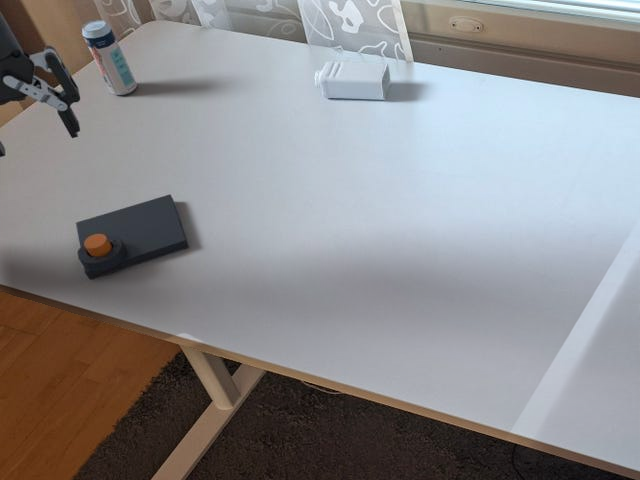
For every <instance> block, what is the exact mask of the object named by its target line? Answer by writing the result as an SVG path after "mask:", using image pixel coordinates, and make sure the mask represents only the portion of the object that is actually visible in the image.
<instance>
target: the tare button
mask: <svg viewBox="0 0 640 480" xmlns="http://www.w3.org/2000/svg"><path fill="white" fill-rule="evenodd" d="M84 246H85V247H86V249H87V250H88V252H89V253H90V255H91V256H93V257H100V256H104V255H106V254H107V253H109V252H110V251H111V250H112V245H111V244H110V242H109V241H108V239H107V237H106V236H105V235H103V234H95V235H92V236H90V237H88V238H87V239H86V240H85V242H84Z"/></svg>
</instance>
